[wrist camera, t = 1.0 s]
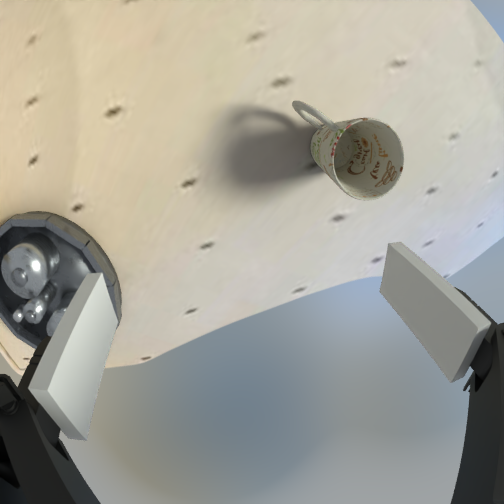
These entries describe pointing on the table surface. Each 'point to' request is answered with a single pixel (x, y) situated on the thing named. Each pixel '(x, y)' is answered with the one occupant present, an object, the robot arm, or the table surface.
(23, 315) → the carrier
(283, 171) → the table surface
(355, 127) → the mug
